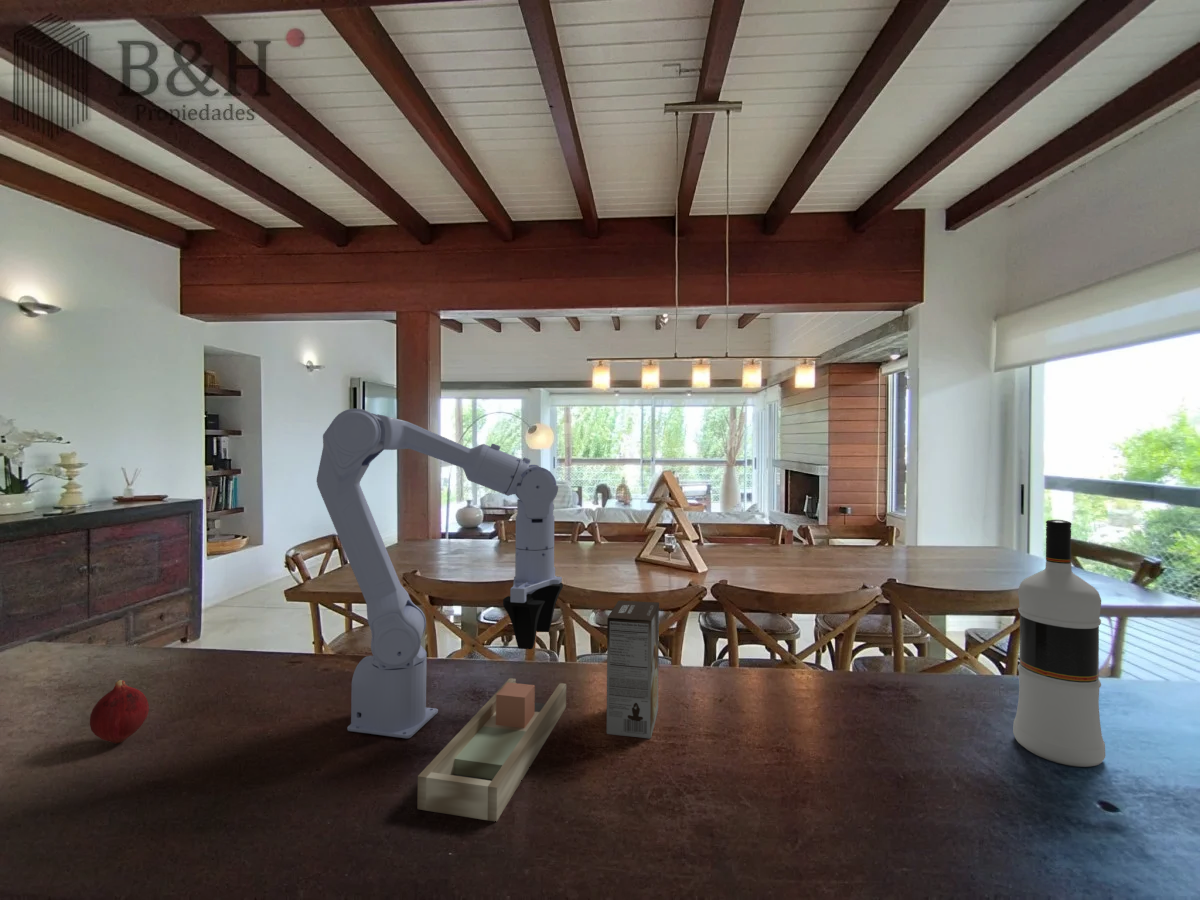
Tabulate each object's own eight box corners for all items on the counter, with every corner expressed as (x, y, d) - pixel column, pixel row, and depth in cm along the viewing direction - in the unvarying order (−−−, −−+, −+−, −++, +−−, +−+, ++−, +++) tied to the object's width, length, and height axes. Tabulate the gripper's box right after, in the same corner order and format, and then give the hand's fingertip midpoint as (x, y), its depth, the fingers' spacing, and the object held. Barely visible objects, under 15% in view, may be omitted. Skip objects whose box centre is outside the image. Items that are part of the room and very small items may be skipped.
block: (495, 724, 74) (496, 694, 74) (507, 711, 78) (507, 682, 78) (524, 728, 73) (524, 697, 73) (534, 714, 77) (534, 685, 77)
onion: (157, 737, 73) (158, 676, 73) (104, 759, 68) (105, 693, 68) (133, 727, 76) (134, 669, 76) (79, 748, 71) (80, 685, 71)
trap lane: (417, 809, 59) (417, 776, 59) (509, 701, 85) (509, 678, 85) (496, 821, 57) (496, 787, 57) (566, 707, 83) (566, 683, 83)
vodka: (996, 737, 75) (997, 516, 76) (1045, 728, 78) (1046, 515, 78) (1071, 776, 67) (1072, 525, 67) (1124, 764, 69) (1125, 523, 69)
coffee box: (616, 705, 84) (617, 598, 84) (659, 709, 83) (660, 601, 83) (605, 735, 75) (606, 616, 75) (652, 740, 74) (653, 619, 74)
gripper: (545, 557, 74) (545, 659, 74) (573, 540, 89) (573, 626, 88) (496, 555, 76) (495, 654, 76) (531, 538, 90) (531, 622, 90)
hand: (534, 639), depth 82 cm, fingers open, 7 cm apart
